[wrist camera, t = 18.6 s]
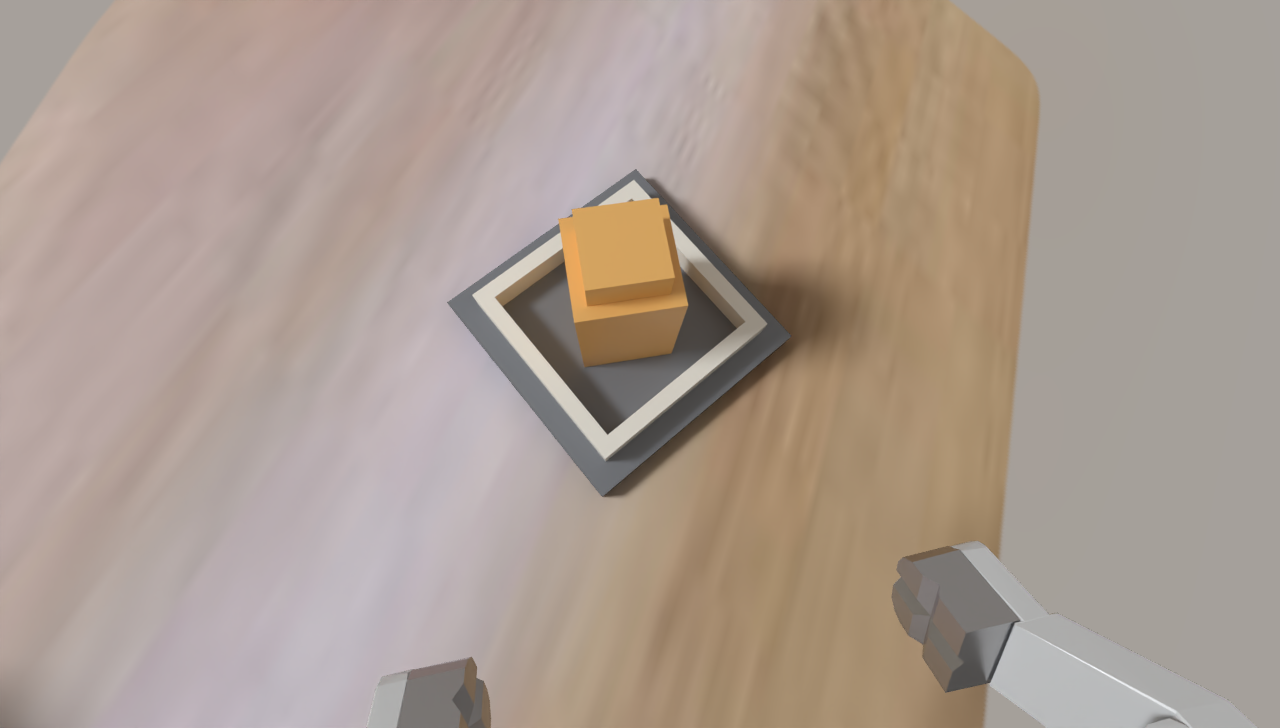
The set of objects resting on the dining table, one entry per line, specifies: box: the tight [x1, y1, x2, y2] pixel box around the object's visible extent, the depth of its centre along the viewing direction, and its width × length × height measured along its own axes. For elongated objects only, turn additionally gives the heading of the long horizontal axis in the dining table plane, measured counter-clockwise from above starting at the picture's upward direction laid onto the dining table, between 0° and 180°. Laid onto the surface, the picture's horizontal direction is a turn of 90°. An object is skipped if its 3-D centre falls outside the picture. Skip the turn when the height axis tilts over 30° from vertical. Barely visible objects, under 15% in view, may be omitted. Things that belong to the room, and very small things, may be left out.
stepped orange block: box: [558, 198, 688, 367], centre depth 25 cm, size 5×5×9 cm
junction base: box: [447, 169, 791, 497], centre depth 29 cm, size 13×13×2 cm
